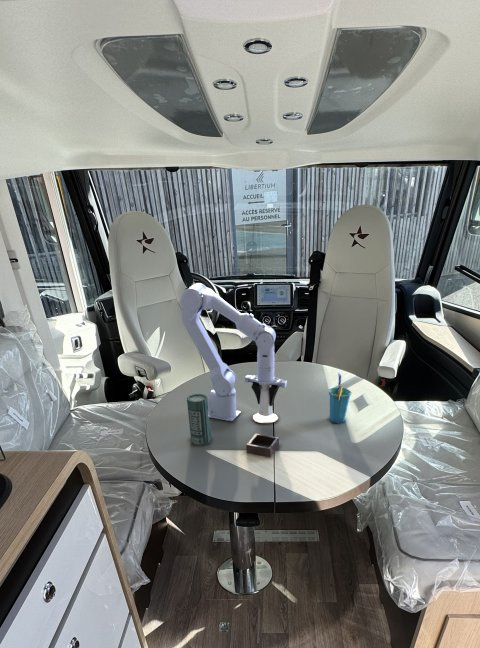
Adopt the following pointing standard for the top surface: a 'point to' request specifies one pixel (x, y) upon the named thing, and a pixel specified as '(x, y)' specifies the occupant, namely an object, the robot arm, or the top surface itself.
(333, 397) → the cup
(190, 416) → the can
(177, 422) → the top surface
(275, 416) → the coaster
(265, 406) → the salt shaker
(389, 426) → the top surface
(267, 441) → the box
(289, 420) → the top surface
